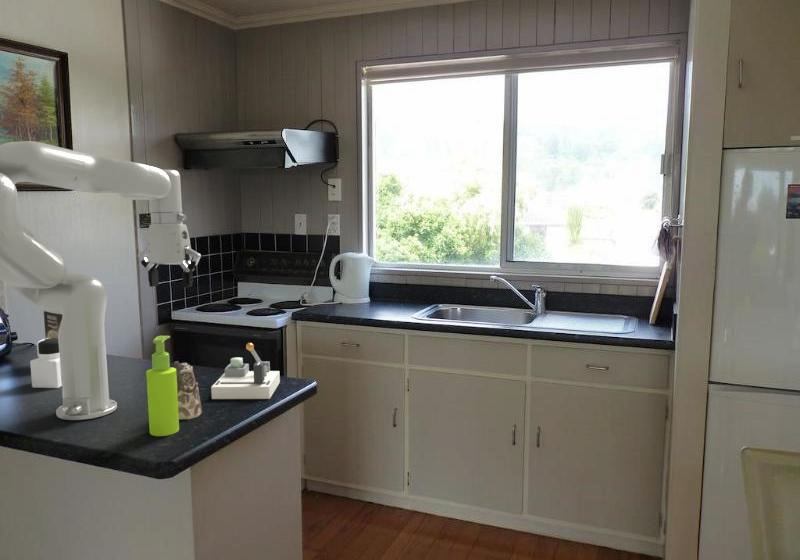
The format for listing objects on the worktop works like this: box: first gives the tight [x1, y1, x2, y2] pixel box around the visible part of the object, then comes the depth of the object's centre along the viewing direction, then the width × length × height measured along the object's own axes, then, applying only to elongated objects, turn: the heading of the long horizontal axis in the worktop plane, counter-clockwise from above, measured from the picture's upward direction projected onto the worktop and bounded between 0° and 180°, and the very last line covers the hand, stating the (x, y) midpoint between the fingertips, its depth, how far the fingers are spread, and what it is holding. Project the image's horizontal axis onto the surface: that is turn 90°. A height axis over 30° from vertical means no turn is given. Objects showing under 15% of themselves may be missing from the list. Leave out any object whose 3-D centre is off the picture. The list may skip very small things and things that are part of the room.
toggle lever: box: [245, 342, 268, 370], centre depth 173 cm, size 3×2×9 cm, turn 0°
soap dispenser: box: [145, 335, 180, 437], centre depth 140 cm, size 6×7×20 cm
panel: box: [210, 361, 281, 400], centre depth 169 cm, size 14×14×6 cm
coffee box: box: [43, 310, 63, 339], centre depth 193 cm, size 9×6×16 cm
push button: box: [230, 356, 244, 368], centre depth 173 cm, size 3×3×2 cm
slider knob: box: [253, 361, 265, 383], centre depth 165 cm, size 3×2×4 cm
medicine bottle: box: [29, 338, 62, 389], centre depth 174 cm, size 7×7×12 cm
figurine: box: [173, 360, 203, 420], centre depth 151 cm, size 7×7×12 cm
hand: (171, 286), depth 171 cm, fingers open, 9 cm apart
